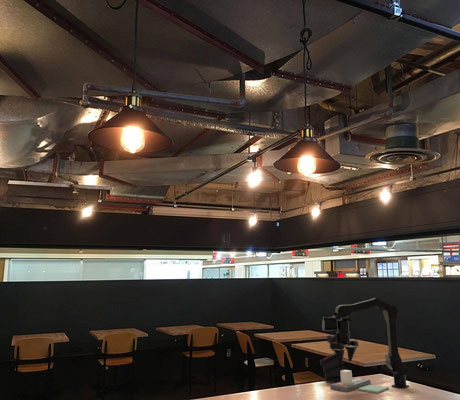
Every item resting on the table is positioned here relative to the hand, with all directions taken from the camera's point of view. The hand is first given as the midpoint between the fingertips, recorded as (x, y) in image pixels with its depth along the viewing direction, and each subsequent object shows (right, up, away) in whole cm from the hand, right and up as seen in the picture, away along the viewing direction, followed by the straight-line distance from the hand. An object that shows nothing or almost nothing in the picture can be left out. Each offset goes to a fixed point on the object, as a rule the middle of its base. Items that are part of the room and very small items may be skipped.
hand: (345, 362), depth 216 cm
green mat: (+11, -10, -8) cm, 17 cm away
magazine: (-3, -15, +13) cm, 20 cm away
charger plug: (0, -12, -2) cm, 12 cm away
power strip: (+4, -13, +2) cm, 13 cm away
